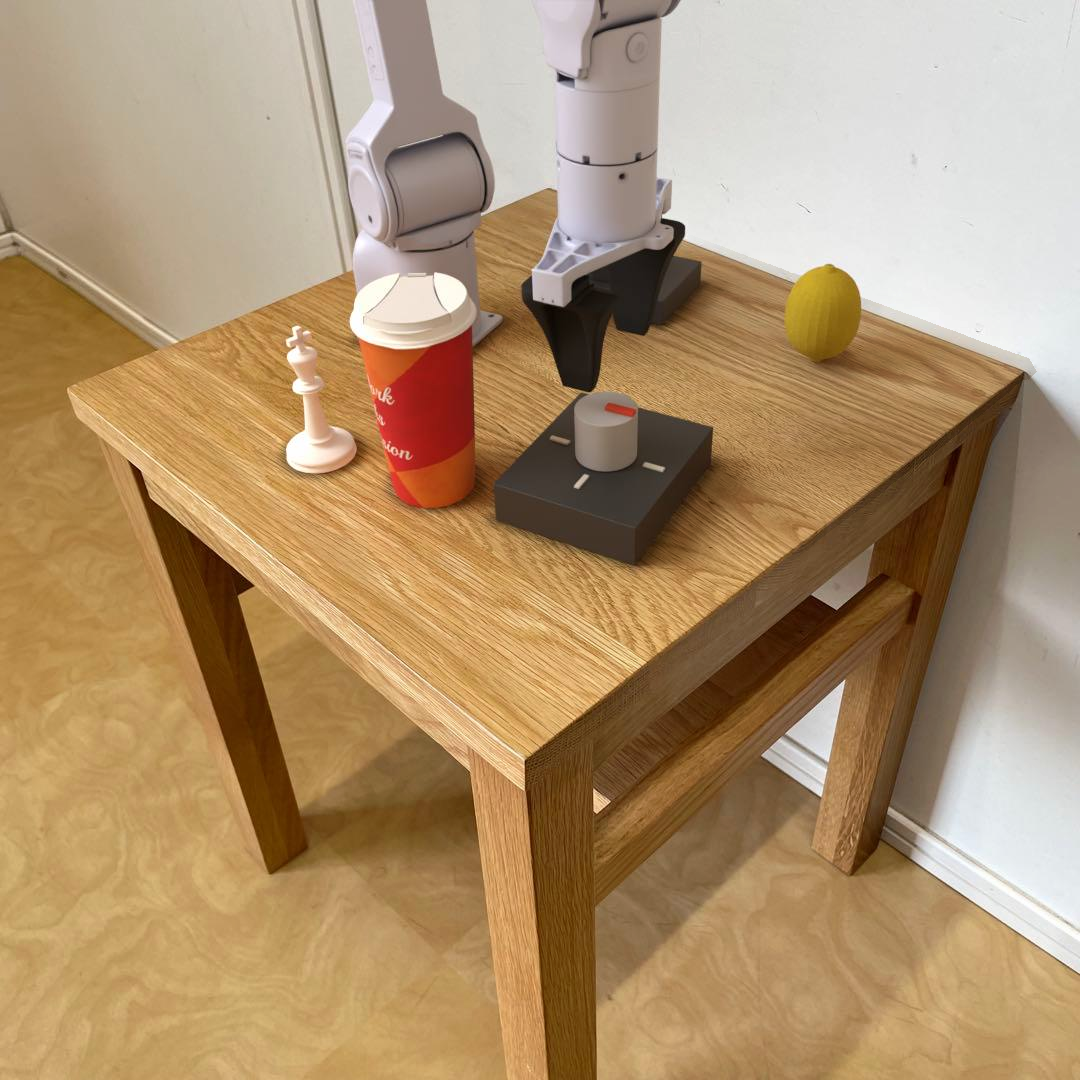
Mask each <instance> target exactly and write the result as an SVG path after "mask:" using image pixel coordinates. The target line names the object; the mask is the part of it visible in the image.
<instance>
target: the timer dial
mask: <svg viewBox="0 0 1080 1080" xmlns="http://www.w3.org/2000/svg"><path fill="white" fill-rule="evenodd" d="M588 394H589V395H587V396H584V397H583V398H581V399H580V400H579V401H578V402H577V403H576V405H575V408H574V420H575V455H576V458H577V460H578V462H579V463H580V464H581V465H583V466H584V467H586V468H589V469H591V470H595V471H602V472H610V471H617V470H621V469H623V468H626V467H628V466H629V465H631V464H632V463H633V462H634V460H635V459H636V457H637V431H638V404H637V402H636V401H635V400H634V399H633V398H632V397H630V396H628V395H626V394H624V393H621V392H616V391H598V392H591V393H588Z"/></svg>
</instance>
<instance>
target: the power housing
mask: <svg viewBox="0 0 1080 1080" xmlns="http://www.w3.org/2000/svg"><path fill="white" fill-rule="evenodd" d="M702 265H703V261H701V260H697V259H693V258H687V257H683V256H677V255H674V256H673V258H672V260H671V262H670V264H669V266H668V269H667V271H666V274H665V277H664V279H663V282H662V285H661V289H660V293H659V296H658V300H657V303H656V307H655V311H654V315H653V318H652V322H651V324H655V325H658V326H663V325H664V324H665V323H666V322H667V320H669V319H670V317H672V316H673V314H674V313H675V312H676V311H677V310H678V309H679V308H680V307H681V306H682V305H683V304H684V302H685V301H687V300H688V299H689V297H690V296H691V295H692V294H693V293H694V292H695V291H696V290H697V289H698V288H699V287H700V286H701V281H702ZM587 275H588V276H589V284H590V285H591V284H594V290H596V291H600V292H605V293H609V294H611V290H610V281H609V275H608V270H607V266H604V267H602V268H599V269H597V270H595V271H592V272H590V273H588V274H587ZM612 315H613V313H612Z"/></svg>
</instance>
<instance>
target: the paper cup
mask: <svg viewBox="0 0 1080 1080" xmlns="http://www.w3.org/2000/svg"><path fill="white" fill-rule="evenodd" d="M353 303H354V304H353V310H352V312H351V313H350V318H349V325H350V328H351V331H352V332H353V333H354V334H355V336H356V337H357V336H358V338H357V340H358V343H359V348H360V351H361V356H362V359H363V363H364V368H365V369H364V370H365V374H366V378H367V382H368V387H369V390H370V396H371V399H372V403H373V408H374V409H373V410H374V412H375V417H376V422H377V425H378V431H379V434H380V439H381V443H382V447H383V451H384V456H385V461H386V465H387V468H388V473H389V476H390V480H391V484H392V488H393V490H394V493H395V495H396V496H397V497H398V499H399V500H401V501H402V502H403V503H405V504H407V505H409V506H412V507H416V508H421V509H437V508H443V507H448V506H451V505H453V504H456V503H458V502H461V501H462V500H464V499H465V498H467V496H468V495H469V494H470V493H471V492H472V491H473V489H474V487H475V483H476V425H475V424H476V423H475V421H476V420H475V386H474V385H475V383H474V379H475V378H474V349H473V348H474V346H473V343H472V324H473V322H474V320H475V318H476V315H477V310H476V306H475V304H474V303H473V301H472V300H471V298H470V297H469V295H468V292H467V289H466V288H465V286H464V285H463V284H462V283H461V282H460V281H459V280H457V279H455V278H453V277H451V276H448V275H445V274H441V273H436V272H435V273H434V279H433V275H429V276H426V273H408V276H400V273H397V274H393V275H389V276H385V277H383V278H380V279H377V280H375V281H373V282H371V283H370V284H368V285H366V286H365V287H364V288H363V289H361V291H360V292H359V293H358V295H357V294H356V297H355V298H354V302H353Z"/></svg>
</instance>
